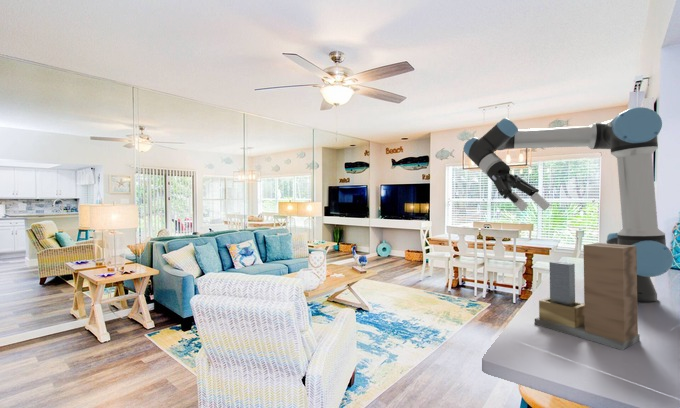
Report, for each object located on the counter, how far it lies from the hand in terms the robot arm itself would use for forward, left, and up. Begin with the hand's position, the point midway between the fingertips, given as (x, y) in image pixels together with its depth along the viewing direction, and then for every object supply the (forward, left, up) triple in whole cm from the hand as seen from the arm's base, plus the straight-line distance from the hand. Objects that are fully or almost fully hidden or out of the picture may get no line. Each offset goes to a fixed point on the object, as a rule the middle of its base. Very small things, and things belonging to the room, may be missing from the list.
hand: (536, 208), depth 111 cm
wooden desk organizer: (+8, +22, -33) cm, 40 cm away
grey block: (+10, +17, -31) cm, 37 cm away
